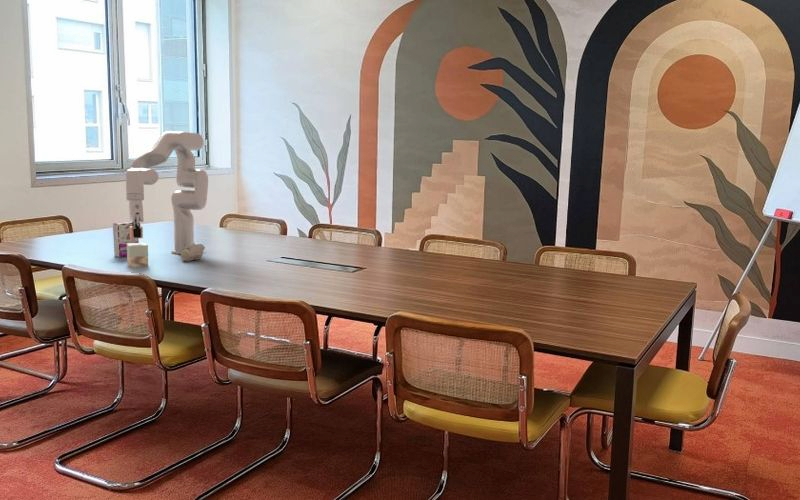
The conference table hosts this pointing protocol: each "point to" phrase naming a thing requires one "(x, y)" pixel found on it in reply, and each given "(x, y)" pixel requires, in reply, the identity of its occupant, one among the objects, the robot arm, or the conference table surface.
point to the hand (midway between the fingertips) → (136, 236)
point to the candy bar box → (122, 238)
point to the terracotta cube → (132, 232)
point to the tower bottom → (137, 261)
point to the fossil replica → (192, 252)
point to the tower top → (137, 249)
